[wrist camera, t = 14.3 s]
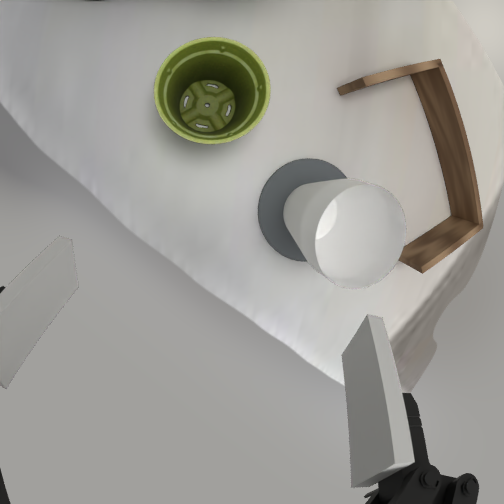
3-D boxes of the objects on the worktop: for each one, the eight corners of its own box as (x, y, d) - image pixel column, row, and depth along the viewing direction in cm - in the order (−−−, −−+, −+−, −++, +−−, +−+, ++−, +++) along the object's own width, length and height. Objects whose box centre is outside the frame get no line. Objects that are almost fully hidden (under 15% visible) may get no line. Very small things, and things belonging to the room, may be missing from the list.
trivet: (262, 153, 32) (264, 153, 31) (359, 165, 34) (361, 166, 34) (253, 258, 35) (254, 260, 35) (346, 260, 38) (348, 262, 37)
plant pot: (259, 76, 29) (280, 51, 21) (241, 156, 32) (258, 154, 23) (175, 60, 27) (170, 29, 19) (156, 141, 29) (142, 134, 21)
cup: (340, 249, 36) (397, 288, 25) (269, 250, 35) (306, 294, 23) (348, 176, 34) (413, 187, 22) (274, 169, 32) (318, 176, 21)
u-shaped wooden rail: (396, 258, 39) (422, 273, 33) (336, 88, 31) (362, 77, 25) (456, 218, 39) (483, 227, 34) (412, 67, 31) (440, 58, 26)
